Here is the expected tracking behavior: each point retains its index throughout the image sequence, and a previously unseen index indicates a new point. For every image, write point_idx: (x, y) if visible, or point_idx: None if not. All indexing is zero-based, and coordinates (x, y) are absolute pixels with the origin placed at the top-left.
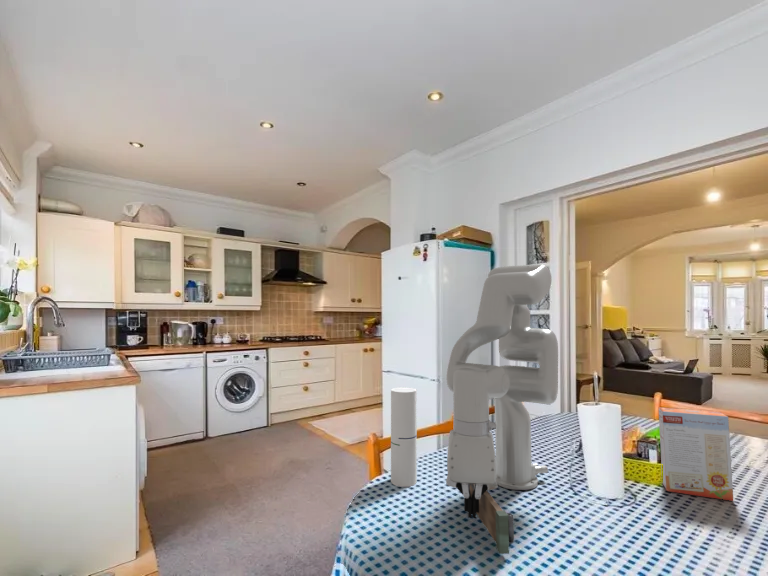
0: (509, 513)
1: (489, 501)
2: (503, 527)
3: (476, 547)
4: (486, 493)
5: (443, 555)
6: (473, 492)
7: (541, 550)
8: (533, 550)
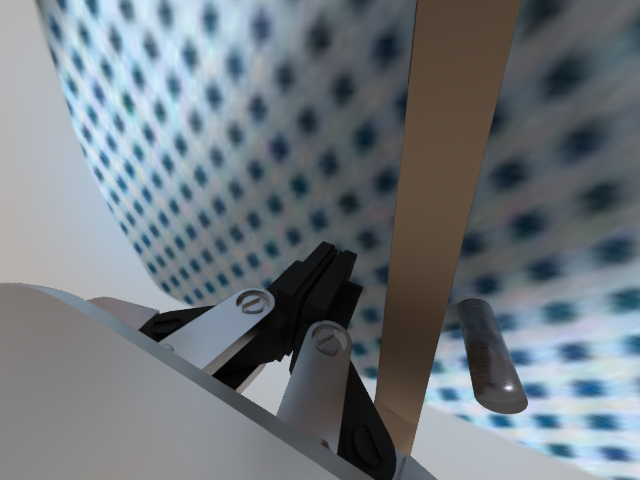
0: (516, 390)
1: None
2: None
3: None
4: (402, 374)
5: None
6: (294, 358)
7: (560, 387)
8: (525, 375)
